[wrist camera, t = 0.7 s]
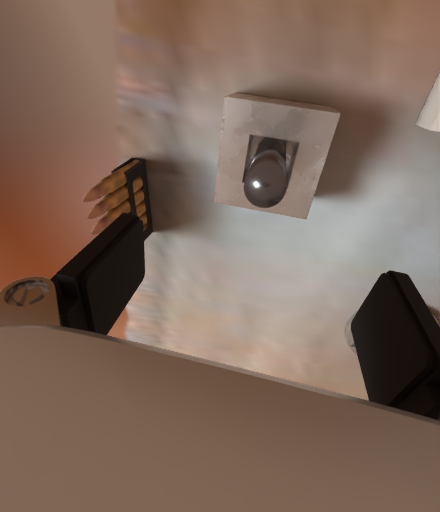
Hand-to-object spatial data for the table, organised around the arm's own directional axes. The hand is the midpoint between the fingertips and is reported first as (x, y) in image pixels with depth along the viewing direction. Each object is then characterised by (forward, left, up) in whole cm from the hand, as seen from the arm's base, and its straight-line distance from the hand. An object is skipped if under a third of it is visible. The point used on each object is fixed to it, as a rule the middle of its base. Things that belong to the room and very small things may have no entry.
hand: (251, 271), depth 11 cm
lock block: (0, +1, -25) cm, 25 cm away
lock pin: (0, +1, -24) cm, 24 cm away
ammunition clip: (+12, +15, -25) cm, 31 cm away
